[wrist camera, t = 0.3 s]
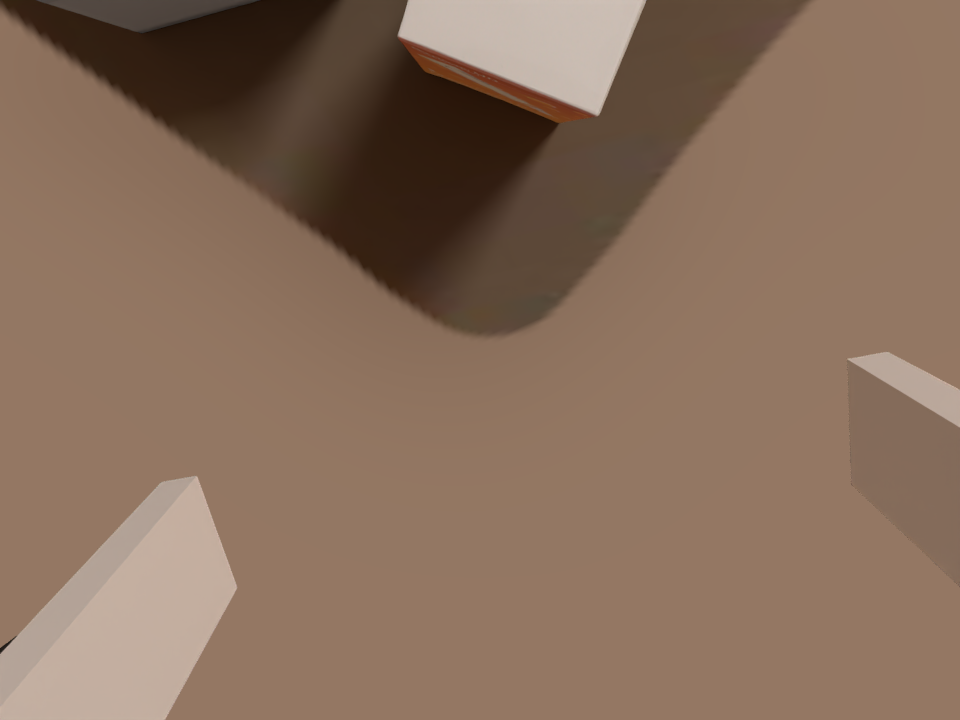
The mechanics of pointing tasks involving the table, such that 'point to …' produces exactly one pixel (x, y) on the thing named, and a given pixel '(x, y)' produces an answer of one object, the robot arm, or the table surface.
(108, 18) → the coin box
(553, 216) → the table surface
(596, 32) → the small box
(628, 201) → the table surface
